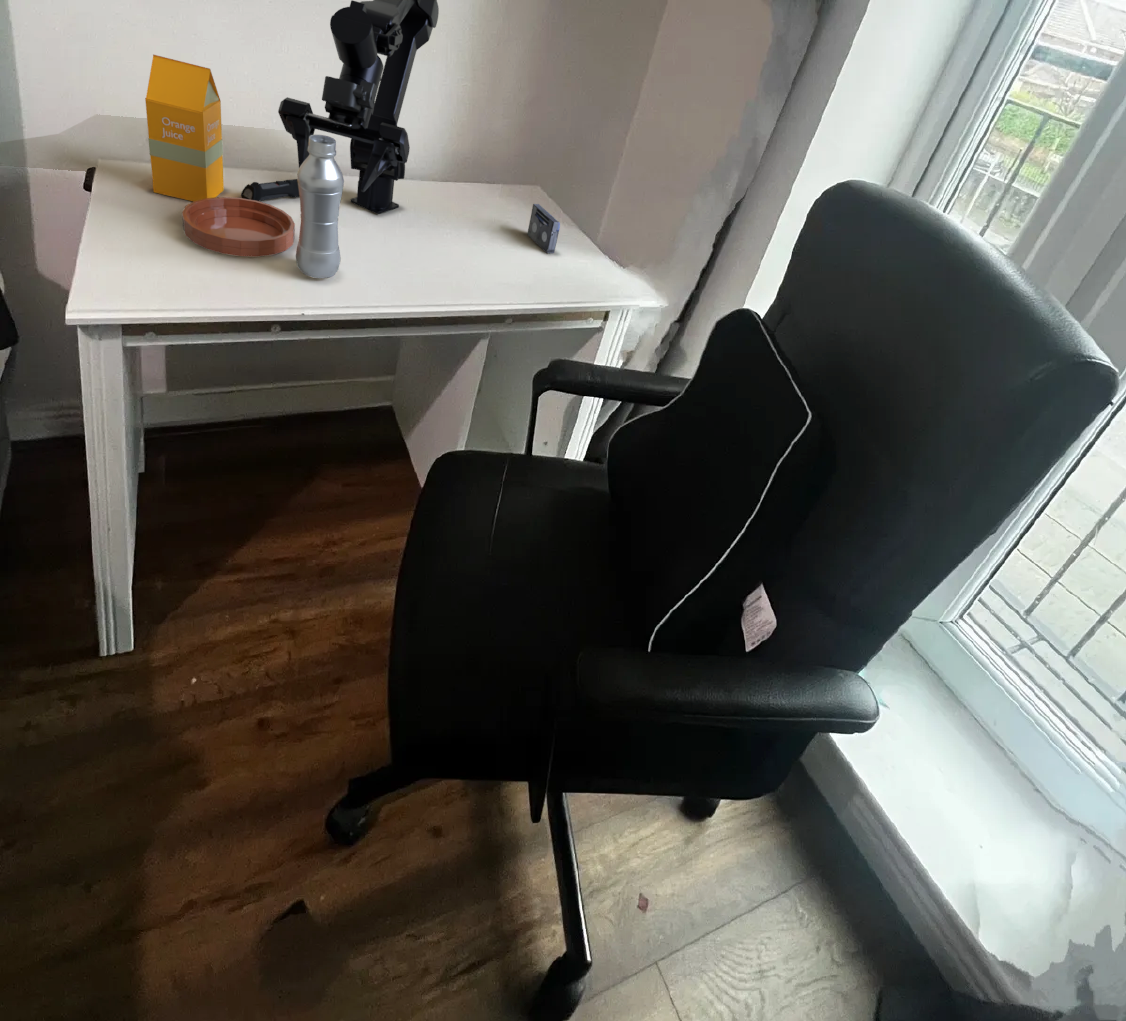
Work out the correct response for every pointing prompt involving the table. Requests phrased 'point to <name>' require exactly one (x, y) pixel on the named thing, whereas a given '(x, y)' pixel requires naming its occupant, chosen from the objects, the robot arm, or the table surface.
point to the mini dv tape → (543, 229)
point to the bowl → (238, 226)
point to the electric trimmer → (271, 190)
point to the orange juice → (184, 130)
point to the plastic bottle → (319, 209)
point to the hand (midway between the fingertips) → (331, 182)
